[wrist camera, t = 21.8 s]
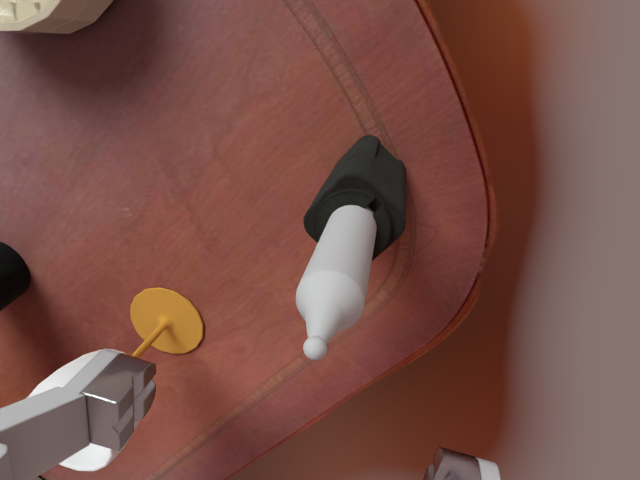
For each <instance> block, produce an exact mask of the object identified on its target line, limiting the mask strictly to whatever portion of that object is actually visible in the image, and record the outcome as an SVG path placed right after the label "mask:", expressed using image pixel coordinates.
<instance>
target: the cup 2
mask: <svg viewBox="0 0 640 480" xmlns="http://www.w3.org/2000/svg"><path fill="white" fill-rule="evenodd" d="M130 312H131V320H132V323H133V325H134V327H135V329H136V331H137V333H138V334H139V335H140V336H141V337H142V338H143V339H144V340H145V341H144V342H143V343H142V344H141V345H140V346H139V347H138V348H137V350H136V351H135V352H134V353H133V354H132V355H131V354H130V353H127V352H123V351H118V350H113V349H110V350H113V351H117V352H120V353H123V354H127V355H130V356H133V357H136V358H140V357H141V356H142V355H143V354H144V353H145V352H146V350H147V349H148V348H149V347H150V346H151V345H152V346H153V347H155V348H156V349H158V350H161V351H164V352H168V353H172V354H179V353H187V352H189V351H191V350H193V349H194V348H196V347H197V346H198V344H199V343H200V341H201V340H202V338H203V328H204V325H203V322H202V319H201V317H200V314H199V312H198V310H197V309H196V308H195V307H194V306H193V305H192V303H191V302H190V301H189V300H188V299H186V298H185V297H183V296H182V295H180V294H179V293H177V292H175V291H172V290H168V289H165V288H161V287H158V288H149V289H145V290H144V291H142V292H141V293H139V294H137V295H136V296H135V298H134V300H133V302H132V304H131V306H130ZM99 351H101V350H98V351H94V352H91V353H88V354H85V355H83V356H81V357H79V358H77V359H75V360H73V361H72V362H70V363H68V364H66V365H65V366H63V367H61V368H60V369H58V370H56V371H55V372H54V373H53V374H51V375H50V376H49V377H47V378H46V379H45V380H44V381H42V382H41V383H40V384H38V385H37V387H36V388H35V389H34V390H33V391H32V393H31V394H30V395H29V396H28V397H27V398H29V397H32V396H34V395H37V394H39V393H42V392H44V391H47V390H50V389H52V388H55V387H61V388H63V387H64V386H65V385H66V384H67V383H68V382H69V381H70V380H71V379H72V378H73V377H74V376H75V375H76V374H77V373H78V372H79V371H80V370H81V369H82V368H83V367H84V366H85V365H86V364H87V363H88V362H89V361H90V360H91V359H92V358H93V357H94V356H95V355H96V354H97V353H98V352H99ZM140 420H141V419H140ZM140 420H138V421H136V422H134V430H135V428H136V427H137V425H138V423H139V422H140ZM131 435H132V434H131ZM130 437H131V436H130ZM130 437H129V438H130ZM128 440H129V439H128ZM128 440H127V441H126V443H127V442H128ZM126 443H125V444H124V445H123V447H122V448H121V450H120V451H117V450H113V449H110V448H106V447H103V446H99V445H95V444H92V443H90V445H89V446H87V447H85V448H84V449H82V450H80V451H79V452H77V453H75V454H74V455H72V456H70V457H69V458H67V459H66V460H64V461H62V462H61V463H59V464H60V465H61V466H65V467H68V468H71V469H74V470H77V471H96V470H98V469H101V468H103V467H105V466H107V465H108V464H109V463H110V462H111V461H112V460H113V459H114V458H115V457H116V456H117V455H118V454H119V453H120V452H121V451H122V450H123V448H124V446H125V445H126Z"/></svg>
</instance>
